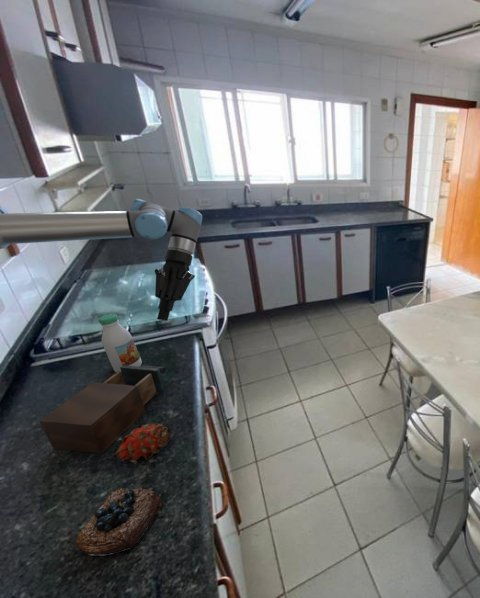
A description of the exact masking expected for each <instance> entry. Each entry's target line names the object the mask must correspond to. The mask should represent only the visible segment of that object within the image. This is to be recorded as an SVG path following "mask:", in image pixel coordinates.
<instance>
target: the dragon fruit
mask: <svg viewBox="0 0 480 598" xmlns="http://www.w3.org/2000/svg"><path fill="white" fill-rule="evenodd" d="M171 430H172V429H171V428H169V427H167V426H165V425H164V424H162V423H155V424H153V423H146V424H141V425H140V426H139V427H137V428H136V427H135V428H134V429H132V430H131V431H130V432H129V433H128V434H126V435H125V436H123V437H122V438H123V439H122V442H121V444H120V445H119V447H118V448H117V450H116V452H115V453H114V455H113V457H112V459H113V460H116V458H117V459H119V460H121V461H122V462H124V463H127V462H131V463H132V464H133V465H135V464H136V463H138V459H140V458H141V457H143V458H144V459H145V460H149V459H150V458H151V457H153V456H154V454H158V453H160V450H161V448H163V447H167V445H168V444H169V443H168V440H170V438H171V434H170V433H171Z"/></svg>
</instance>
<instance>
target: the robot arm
mask: <svg viewBox="0 0 480 598" xmlns="http://www.w3.org/2000/svg"><path fill="white" fill-rule="evenodd" d="M202 222H203V215H202V213H200V211H198V210H196V209H193V208H190V207H185V206H183V207H179V208H178V209H177V210H174V209H171V208H167V207H165V206H162V205H159V204H157V203H153V202H150V201H148V200H145V199H140V198H135V199H134V200H133V202H132V205H131V207H130V210H111V211H110V210H107V211H63V212H62V211H61V212H55V211H53V212H15V213H14V212H13V213H12V212H11V213H10V212H8V211H7V210H6V209H5V207H3V206H2V205H1V204H0V250H2V249H8V247H9V246H10V245H16V244H33V243H34V244H36V243H53V242H55V243H56V242H71V241H87V240H103V239H104V240H108V239H122V238H123V239H125V238H142V237H143V238H144V239H149V240H158V239H161V238H163V236H164V235H166V233H167V232H168V233H171V235H170V239H169V242H168V245H167V250H166V253H165V257H164V261H165V262H164V264H163V265H162V267H161V268H155V269H154V274H155V290H154V291H155V293H154V296H155V297H156V298H158V299H159V300H160V301H159V304H158V313H157V318H156V319H157V320H160V321H165V322H168V320H169V316H170V313H171V312H172V311H173V309H174V305H175V302H179V301H182V299H183V297H184V295H185V294H186V291H187V289H188V287H189V285H191V281H192V280H193V279H195V277H196V275H195V274H194V273H192V272H190V267H191V265H192V261H193V257H194V256H193V255H194V254H195V251H196V245H197V242H198V238H199V235H200V231H201V228H202Z"/></svg>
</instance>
